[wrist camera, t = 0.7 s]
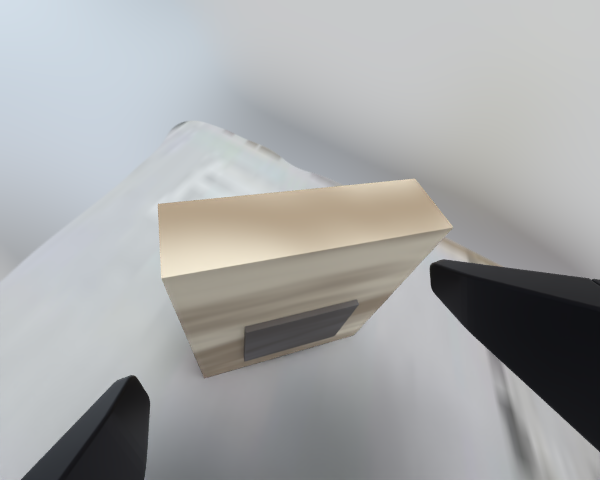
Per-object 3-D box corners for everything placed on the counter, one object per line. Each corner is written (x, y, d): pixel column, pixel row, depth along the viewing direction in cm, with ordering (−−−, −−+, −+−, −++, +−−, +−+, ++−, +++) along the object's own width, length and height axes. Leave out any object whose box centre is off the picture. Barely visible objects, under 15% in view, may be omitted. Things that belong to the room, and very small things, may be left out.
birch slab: (355, 339, 22) (457, 233, 12) (204, 383, 18) (161, 287, 8) (338, 300, 23) (415, 178, 13) (199, 333, 20) (157, 204, 10)
